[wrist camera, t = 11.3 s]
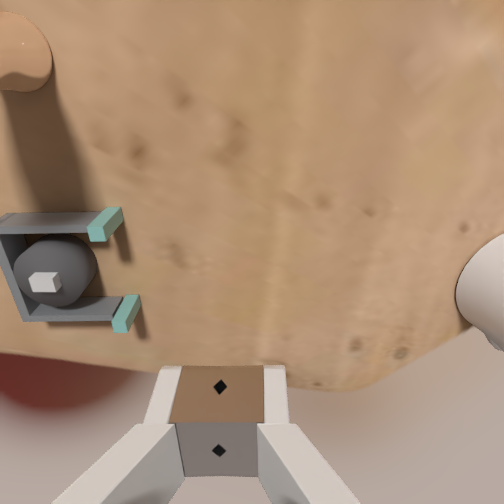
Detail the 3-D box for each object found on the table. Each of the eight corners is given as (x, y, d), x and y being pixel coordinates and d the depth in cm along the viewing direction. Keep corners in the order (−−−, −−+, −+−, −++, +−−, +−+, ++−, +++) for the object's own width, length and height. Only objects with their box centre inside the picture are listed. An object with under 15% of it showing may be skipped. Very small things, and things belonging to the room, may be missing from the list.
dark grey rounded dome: (90, 232, 40) (68, 255, 35) (103, 286, 43) (84, 313, 38) (26, 231, 40) (-4, 254, 35) (44, 285, 43) (18, 313, 39)
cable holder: (120, 207, 38) (102, 226, 34) (141, 305, 44) (127, 332, 40) (5, 209, 39) (-28, 228, 34) (40, 306, 44) (16, 333, 40)
